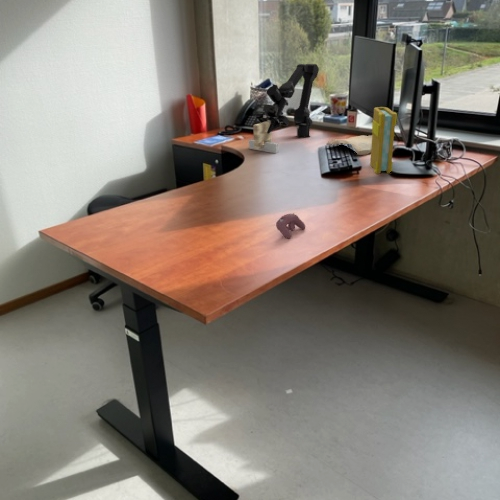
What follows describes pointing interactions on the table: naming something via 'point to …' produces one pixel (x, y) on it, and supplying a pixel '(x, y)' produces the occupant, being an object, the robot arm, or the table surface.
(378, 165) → the book
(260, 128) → the birch slotted plate
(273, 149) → the light grey slotted rail
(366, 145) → the beige piece
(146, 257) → the table surface
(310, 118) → the robot arm
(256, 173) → the table surface
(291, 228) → the video game controller
